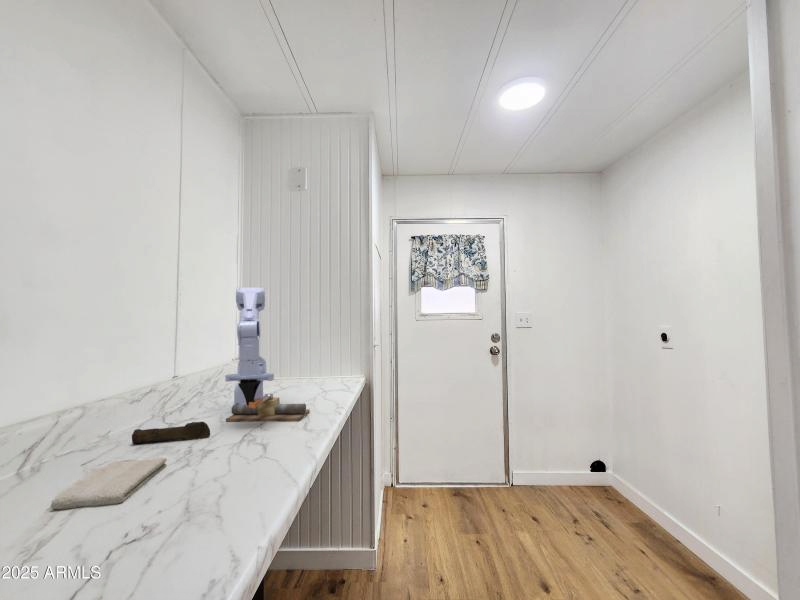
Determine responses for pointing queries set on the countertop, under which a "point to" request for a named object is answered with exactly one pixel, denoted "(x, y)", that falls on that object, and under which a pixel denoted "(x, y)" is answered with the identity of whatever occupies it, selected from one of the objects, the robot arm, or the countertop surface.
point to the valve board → (267, 418)
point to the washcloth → (109, 484)
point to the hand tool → (172, 433)
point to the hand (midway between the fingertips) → (250, 404)
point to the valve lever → (259, 401)
